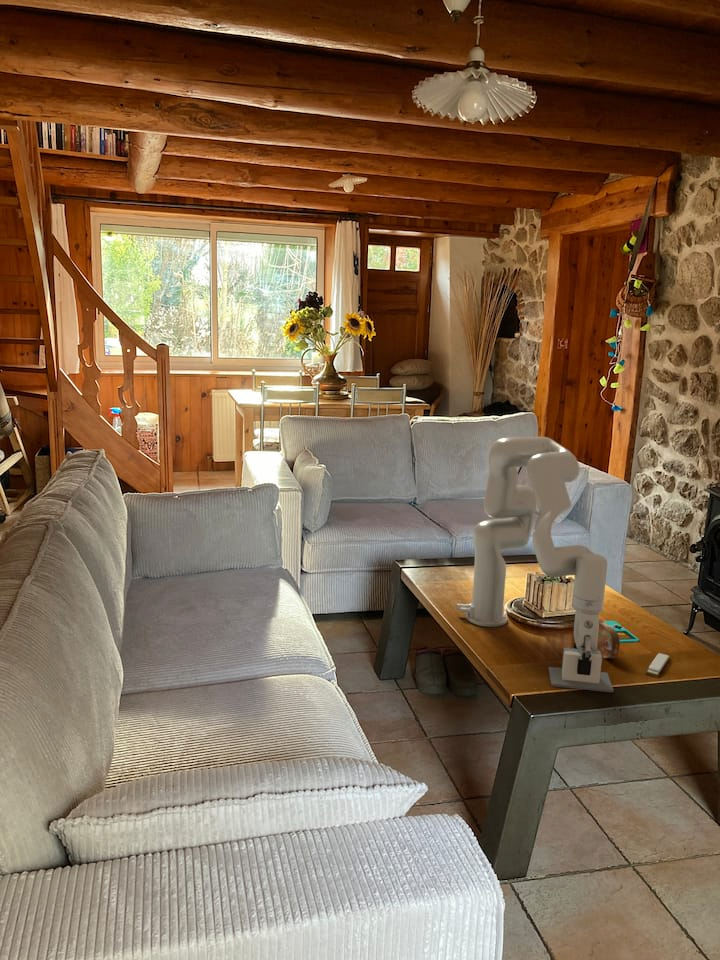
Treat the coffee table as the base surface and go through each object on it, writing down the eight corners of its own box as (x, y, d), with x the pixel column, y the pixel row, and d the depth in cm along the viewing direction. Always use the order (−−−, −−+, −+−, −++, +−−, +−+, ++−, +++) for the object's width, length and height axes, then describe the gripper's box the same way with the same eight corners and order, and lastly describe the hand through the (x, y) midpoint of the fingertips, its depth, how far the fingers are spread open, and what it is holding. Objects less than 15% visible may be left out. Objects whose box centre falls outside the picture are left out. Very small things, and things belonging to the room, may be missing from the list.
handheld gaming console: (614, 619, 235) (640, 639, 220) (614, 623, 235) (640, 642, 220) (589, 620, 233) (613, 640, 219) (589, 624, 233) (613, 644, 219)
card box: (599, 683, 192) (601, 657, 190) (562, 679, 193) (565, 653, 192) (597, 676, 195) (599, 651, 194) (561, 672, 197) (563, 647, 196)
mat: (551, 685, 191) (551, 683, 191) (548, 668, 200) (548, 666, 200) (613, 692, 188) (613, 690, 188) (607, 674, 198) (607, 672, 198)
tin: (583, 641, 219) (586, 613, 218) (593, 640, 220) (596, 613, 218) (609, 663, 205) (612, 634, 203) (619, 663, 205) (623, 634, 204)
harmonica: (658, 657, 211) (658, 650, 211) (669, 660, 210) (670, 653, 209) (645, 676, 199) (646, 669, 199) (657, 679, 198) (658, 672, 197)
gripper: (608, 616, 181) (601, 682, 185) (598, 592, 198) (591, 653, 201) (575, 613, 182) (569, 679, 186) (568, 589, 199) (563, 650, 203)
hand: (581, 665), depth 194 cm, fingers open, 9 cm apart
